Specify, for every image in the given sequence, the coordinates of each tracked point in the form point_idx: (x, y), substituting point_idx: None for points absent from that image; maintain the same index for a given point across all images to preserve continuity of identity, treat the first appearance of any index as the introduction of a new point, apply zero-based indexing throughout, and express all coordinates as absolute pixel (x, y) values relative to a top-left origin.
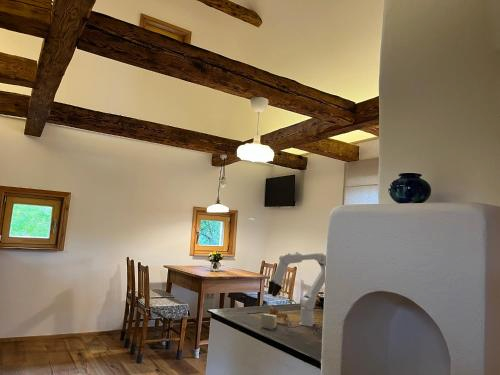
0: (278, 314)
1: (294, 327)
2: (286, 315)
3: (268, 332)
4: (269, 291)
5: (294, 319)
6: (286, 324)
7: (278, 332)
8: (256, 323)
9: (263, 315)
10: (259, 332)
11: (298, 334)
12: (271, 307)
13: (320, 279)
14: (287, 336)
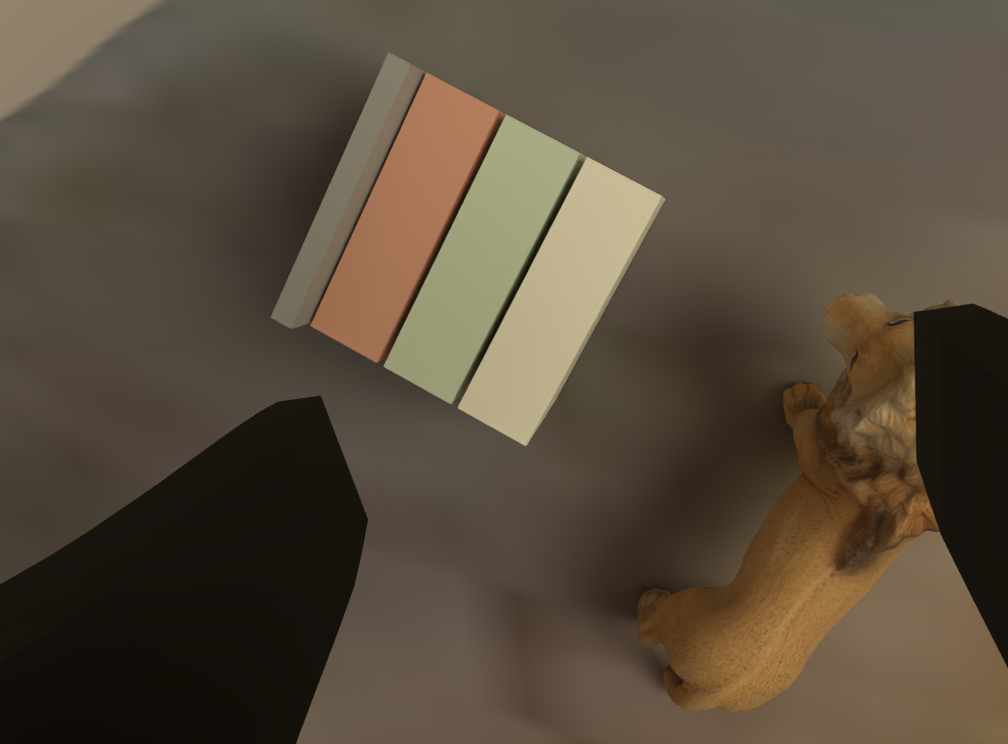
0: (770, 530)
1: (506, 693)
2: (682, 686)
3: (161, 187)
4: (951, 404)
5: None
6: (639, 603)
7: (186, 354)
8: (726, 26)
9: (371, 102)
10: (137, 29)
11: None
12: (903, 405)
13: None
14: (14, 445)
